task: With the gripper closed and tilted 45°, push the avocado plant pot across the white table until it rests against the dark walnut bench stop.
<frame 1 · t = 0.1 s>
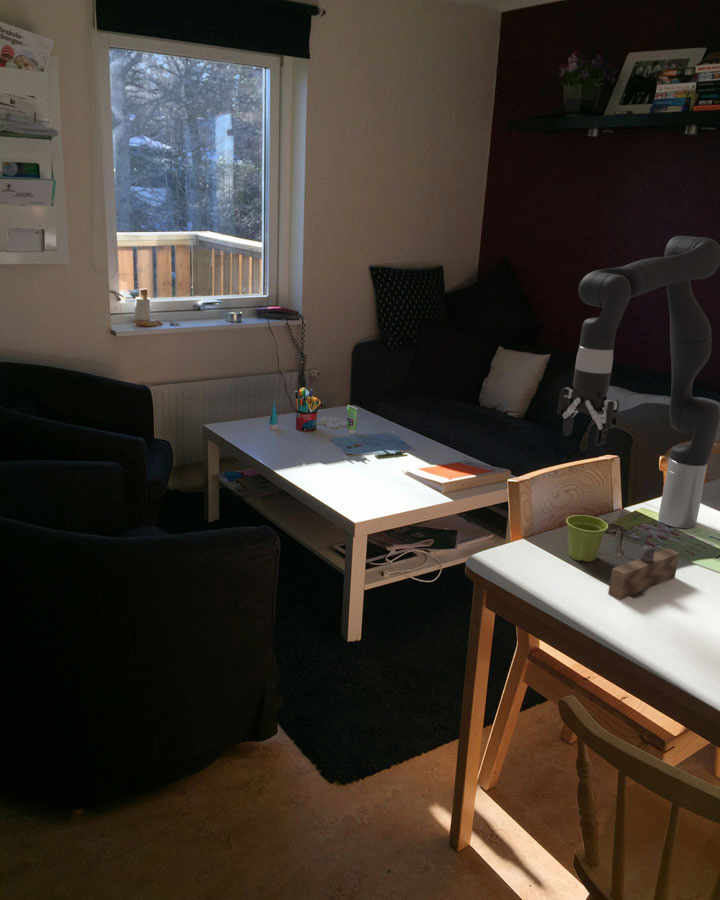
hand: (582, 439, 177), 29 cm above the table, tool pointing down, fingers open, 8 cm apart
plant pot: (581, 557, 188), on the table
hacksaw: (616, 544, 197), on the table
bench stop: (642, 585, 176), on the table
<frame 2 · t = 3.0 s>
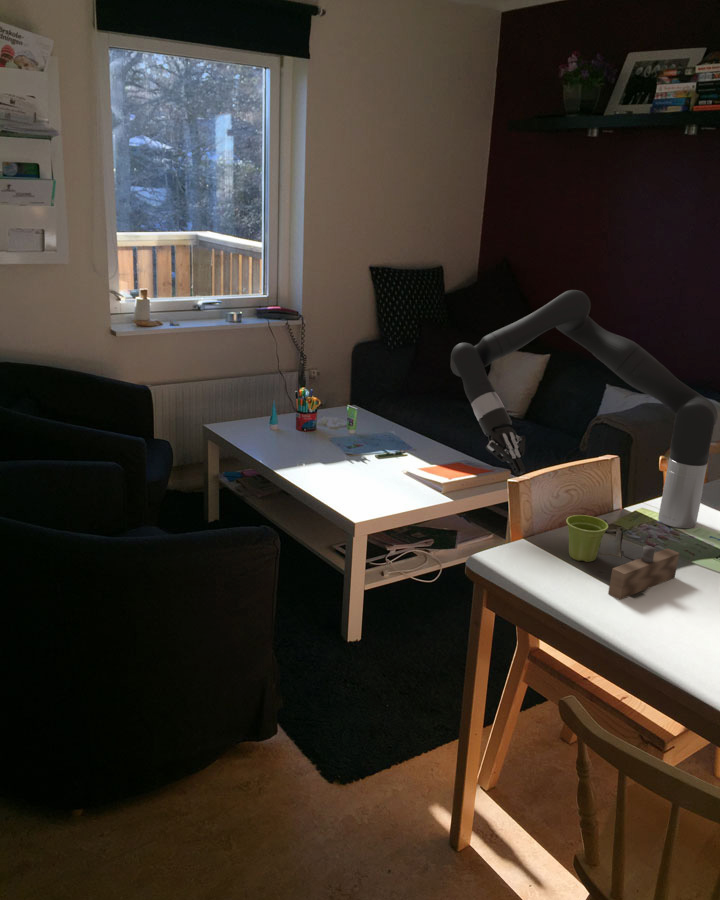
hand: (521, 473, 200), 14 cm above the table, tool tilted 45°, fingers closed
nothing on the table moved.
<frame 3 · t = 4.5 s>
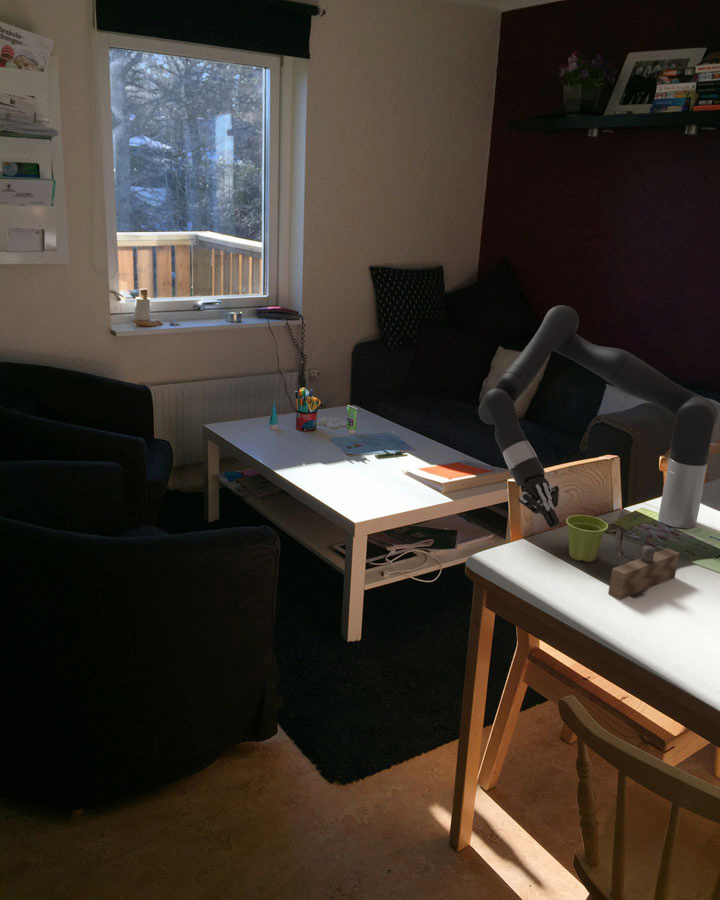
hand: (555, 526, 193), 4 cm above the table, tool tilted 45°, fingers closed
nothing on the table moved.
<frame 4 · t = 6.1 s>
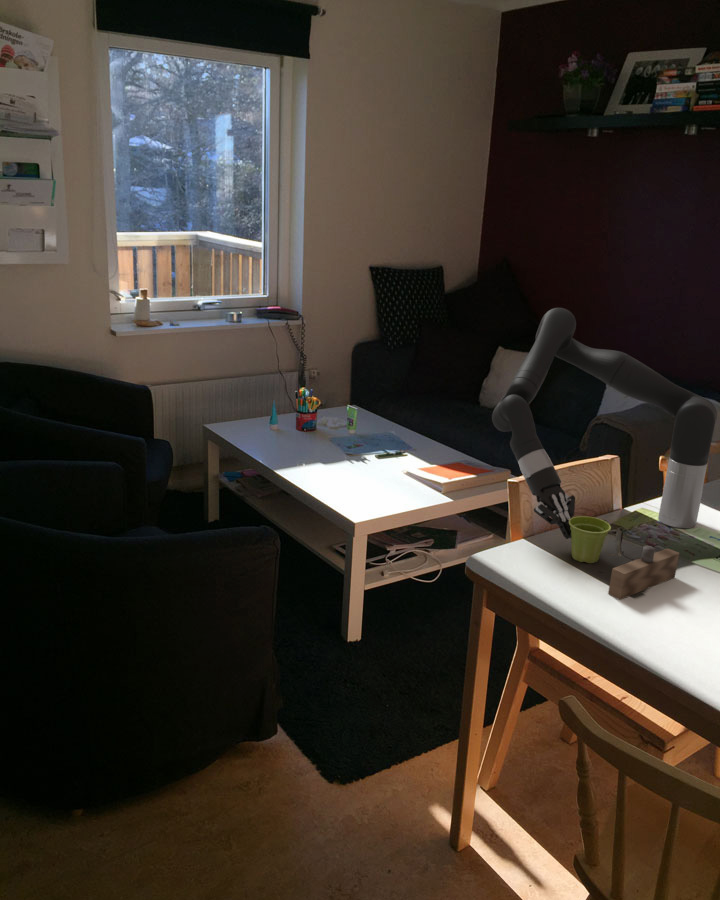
hand: (571, 537, 189), 4 cm above the table, tool tilted 45°, fingers closed
plant pot: (584, 558, 187), on the table, touching gripper
everything else where it was.
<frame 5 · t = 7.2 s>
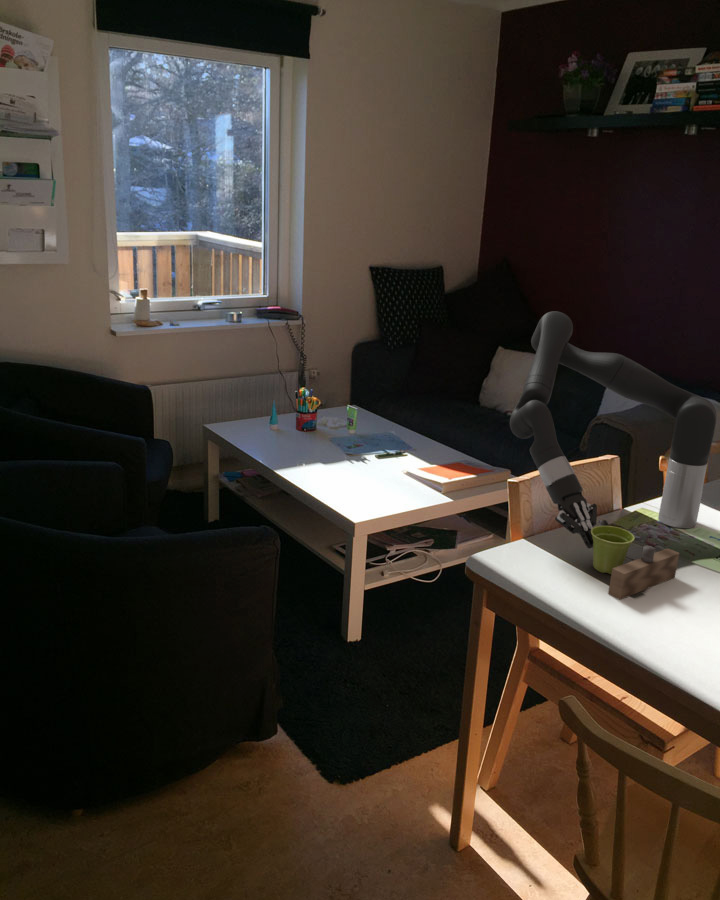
hand: (593, 546, 184), 4 cm above the table, tool tilted 45°, fingers closed
plant pot: (606, 569, 183), on the table, touching gripper
everything else where it was.
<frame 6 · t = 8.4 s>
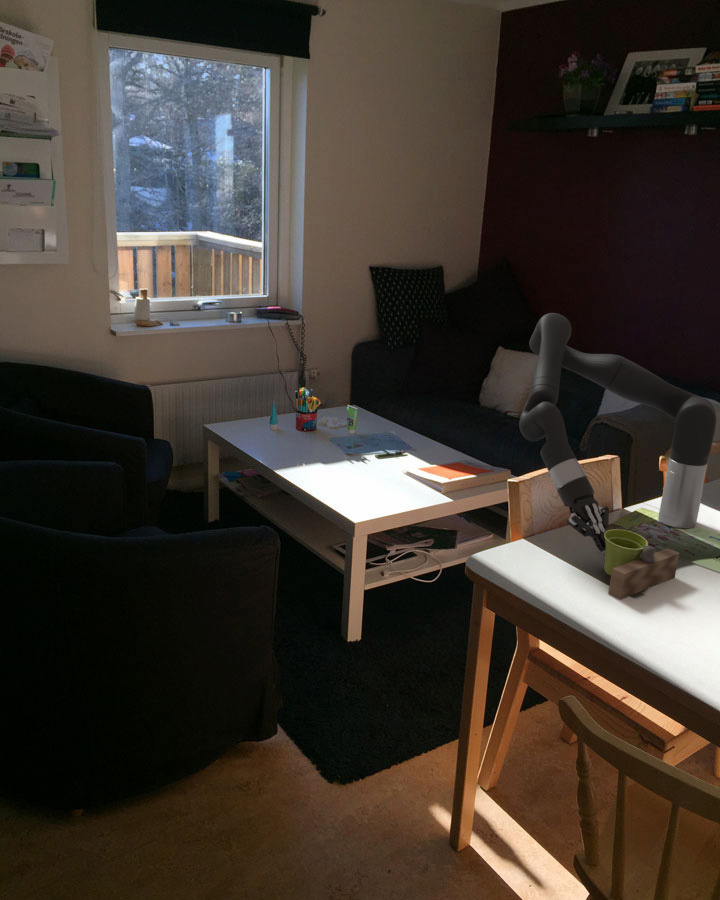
hand: (605, 550, 182), 4 cm above the table, tool tilted 45°, fingers closed
plant pot: (617, 573, 180), on the table, touching bench stop, gripper
everything else where it was.
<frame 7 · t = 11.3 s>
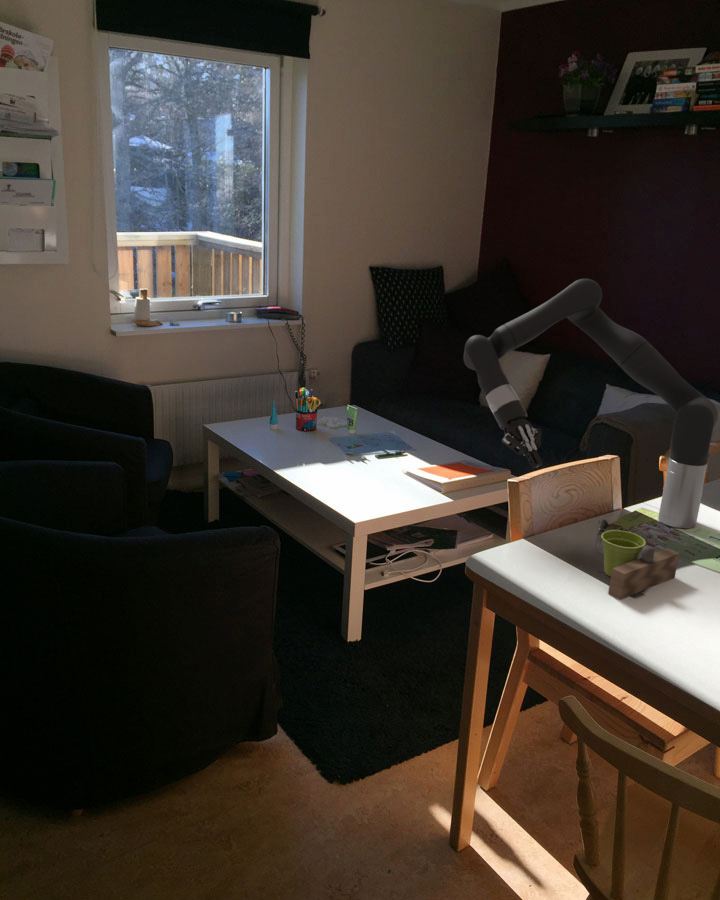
hand: (537, 466, 197), 17 cm above the table, tool tilted 45°, fingers closed
plant pot: (617, 574, 181), on the table
everything else where it was.
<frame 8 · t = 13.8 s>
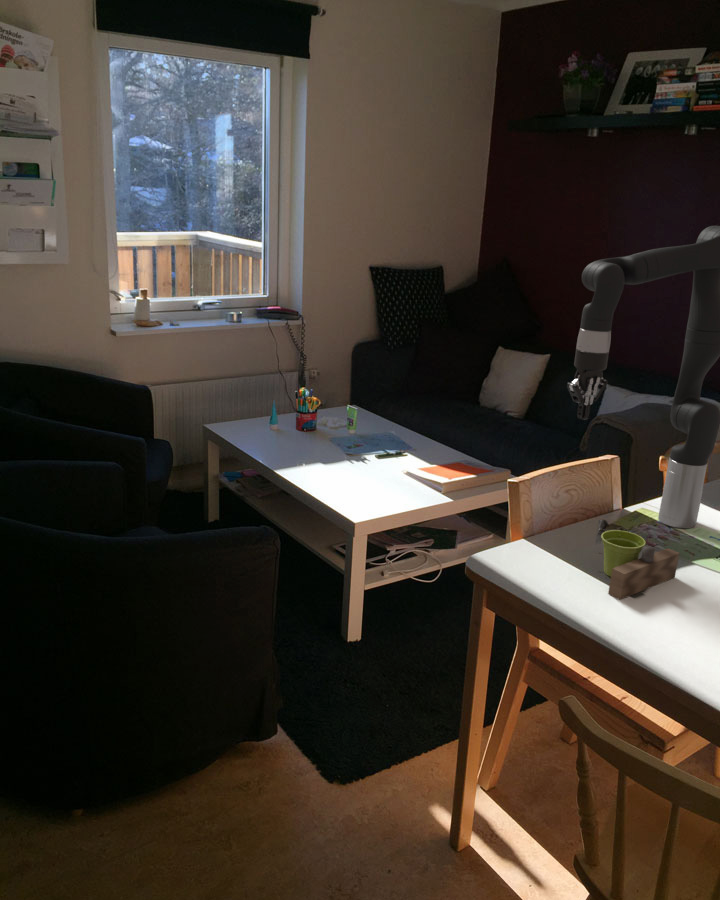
hand: (582, 418, 195), 29 cm above the table, tool pointing down, fingers closed
nothing on the table moved.
at the end: plant pot inside the target area (0.5 cm from its centre), on the table; plant pot tilted 0°; plant pot moved 10.0 cm from its start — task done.
